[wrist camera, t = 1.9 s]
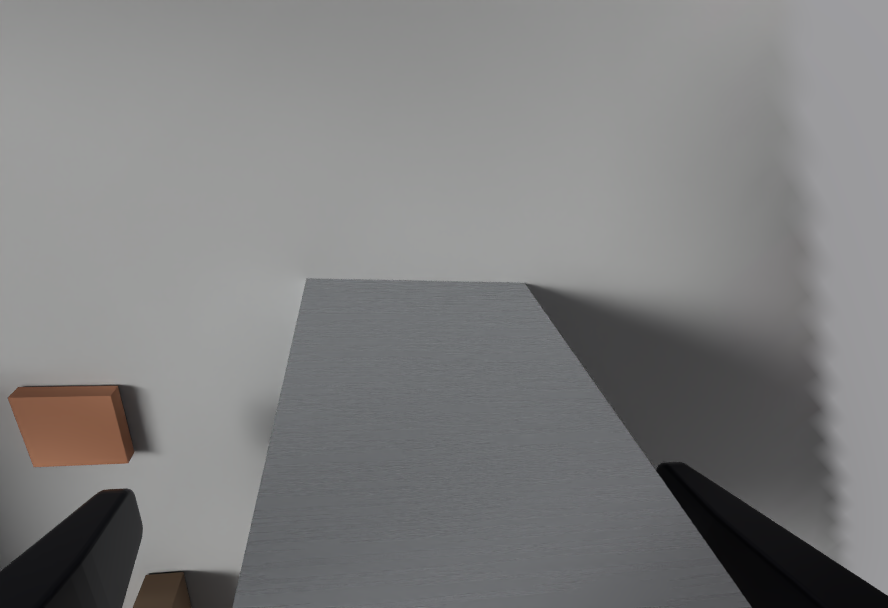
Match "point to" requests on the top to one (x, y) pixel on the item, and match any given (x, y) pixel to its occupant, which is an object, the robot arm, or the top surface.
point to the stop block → (458, 466)
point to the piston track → (87, 452)
